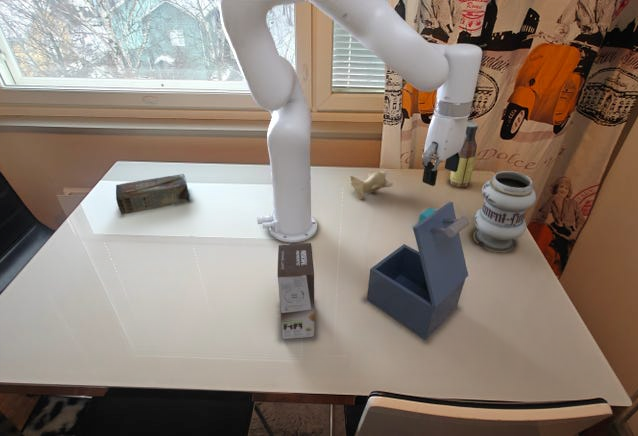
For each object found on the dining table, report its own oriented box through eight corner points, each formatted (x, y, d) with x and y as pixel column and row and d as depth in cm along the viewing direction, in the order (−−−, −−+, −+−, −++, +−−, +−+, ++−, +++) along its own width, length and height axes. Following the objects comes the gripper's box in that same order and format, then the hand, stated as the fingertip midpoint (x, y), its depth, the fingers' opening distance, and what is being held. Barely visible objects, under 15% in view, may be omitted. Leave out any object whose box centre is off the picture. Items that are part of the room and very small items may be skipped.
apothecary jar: (459, 237, 100) (475, 176, 90) (486, 221, 106) (504, 162, 96) (501, 261, 92) (524, 197, 82) (528, 243, 98) (552, 181, 88)
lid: (412, 227, 65) (440, 229, 60) (448, 201, 71) (476, 201, 67) (432, 306, 69) (460, 313, 65) (464, 275, 75) (491, 279, 71)
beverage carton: (191, 202, 114) (187, 182, 110) (120, 217, 107) (113, 196, 104) (188, 189, 120) (183, 170, 116) (120, 203, 113) (113, 183, 110)
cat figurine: (346, 173, 116) (383, 159, 116) (349, 188, 122) (384, 175, 122) (355, 193, 111) (394, 178, 111) (358, 207, 117) (395, 193, 117)
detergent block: (432, 235, 101) (435, 220, 99) (417, 227, 104) (420, 213, 101) (441, 227, 104) (444, 214, 101) (426, 221, 106) (429, 207, 104)
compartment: (366, 299, 82) (369, 268, 77) (399, 273, 89) (404, 243, 84) (425, 340, 74) (433, 308, 69) (456, 308, 80) (466, 277, 75)
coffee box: (315, 337, 74) (315, 275, 65) (282, 339, 74) (277, 277, 64) (312, 301, 82) (311, 242, 72) (281, 303, 81) (277, 243, 72)
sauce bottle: (466, 179, 126) (481, 120, 115) (471, 189, 121) (486, 128, 110) (446, 178, 126) (458, 119, 115) (449, 188, 121) (463, 127, 110)
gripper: (457, 94, 91) (445, 160, 100) (415, 112, 81) (405, 183, 91) (488, 101, 86) (472, 170, 96) (446, 121, 76) (433, 195, 86)
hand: (439, 176), depth 93 cm, fingers open, 9 cm apart
